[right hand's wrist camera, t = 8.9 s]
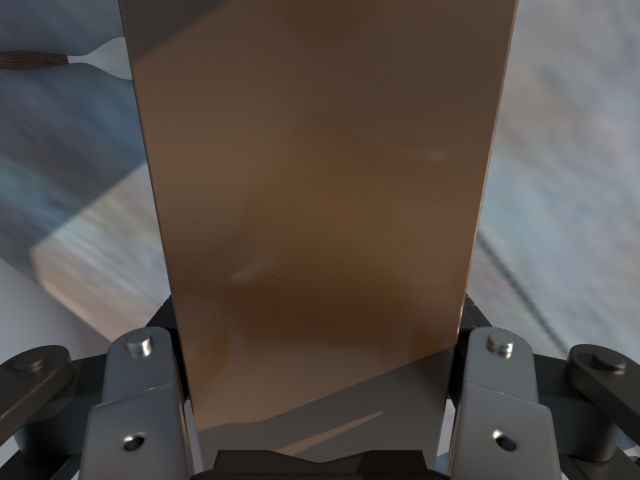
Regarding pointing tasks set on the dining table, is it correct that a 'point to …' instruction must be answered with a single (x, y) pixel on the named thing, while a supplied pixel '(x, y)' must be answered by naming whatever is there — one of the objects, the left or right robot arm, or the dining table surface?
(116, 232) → the dining table surface
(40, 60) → the fork
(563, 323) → the dining table surface
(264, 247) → the box
